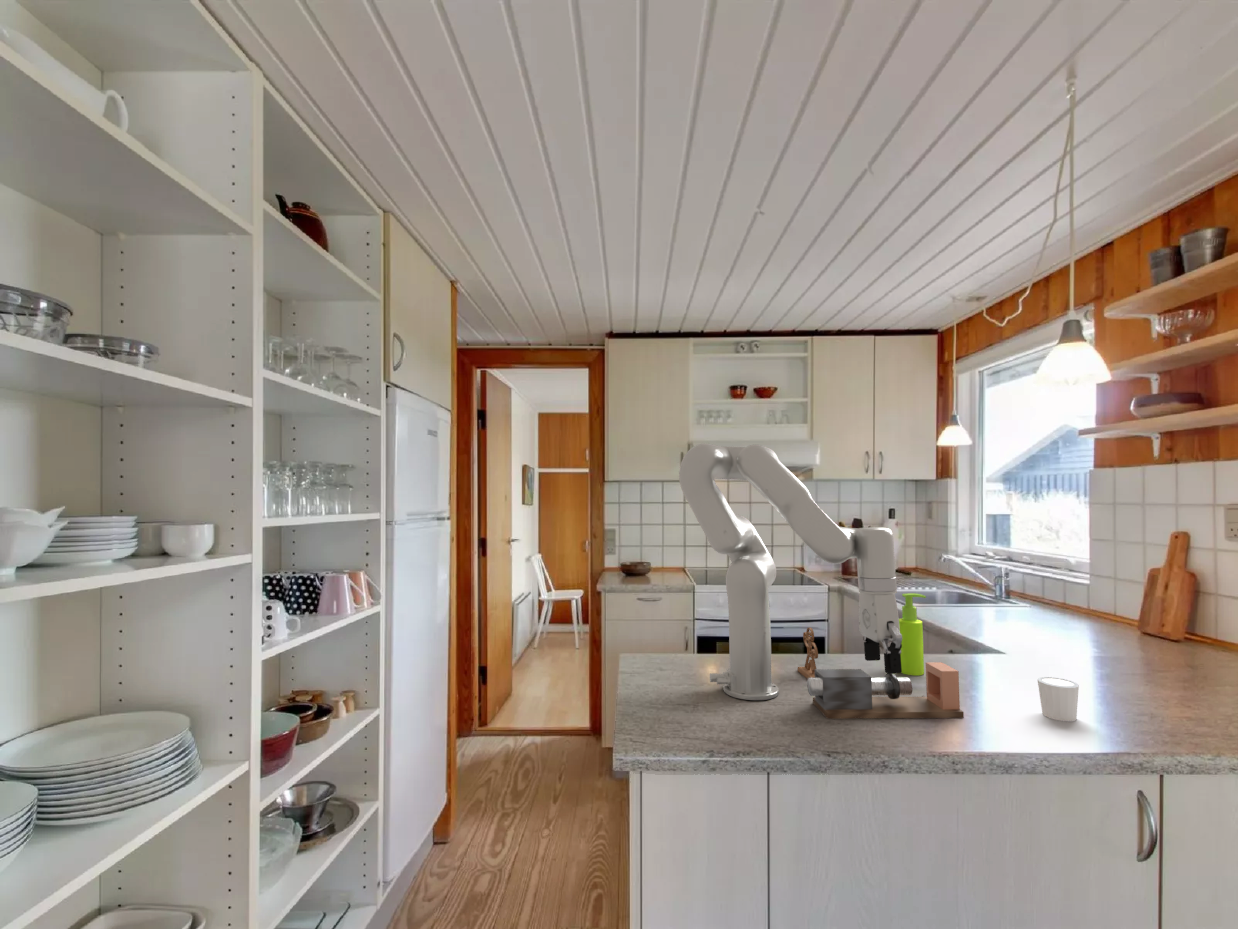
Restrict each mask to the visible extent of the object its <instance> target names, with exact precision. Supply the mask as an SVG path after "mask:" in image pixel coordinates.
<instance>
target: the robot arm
mask: <svg viewBox="0 0 1238 929" xmlns="http://www.w3.org/2000/svg"><path fill="white" fill-rule="evenodd" d="M778 457H779V456H778V455H777V453H776V452H775V451H774V450H773V449H771V448H770V447H767V446H765V445H762V444H749V445H747V446H723V445H717V444H714V443H709V442H708V443H707V442H702V443H698V444H696V445H694V446H692V447H691V448H690V449H689V450H687V452H686V454H684V456H683V458H682V460H681V462H680V465H679V471H678V480H679V485H680V488H681V491H682V494H683V496H684V498H685V499H686V501H687V503H688V505H689V508H691V510H692V512H693V514H694V517H695V518H696V520H697V522H698V525H699V526H700V528H701V529H702V532H703V534H704V535H705V537H706V539H707V541H708V542H709V545H710V546H711V548H712V549H713V550H714V551H715V552H716V553H718V554H721V555H727V556H728V558H729V559H730V561H731V563H730V565H729V566H728V568H727V570H726V574H725V586H726V595H727V596H726V597H727V605H728V609H727V610H728V633H729V637H728V638H729V640H728V642H729V643H728V644H729V668H728V667H727V668H726V671H723V672H722V673H717V672H716V673H709V682H710V683H716V684H717V685H723V686H722V688H723V692H724V693H725V694H726V695H727V696H728V695H729V696H730V697H732V698H736V699H741V700H744V701H745V700H747V701H766V700H771V699H774V698H776V697H777V696H778V695H779V693H780V692H779V687H778V685H776V684H775V683H772V680H773V679H772V677H773V676H772V639H771V638H772V633H771V628H772V627H771V608H770V598H769V588H770V587H771V586H772V585H773V584H774V582H775V580H776V577H777V565H776V563H775V562H774V559H773V557H772V555H771V554H770V553H769V550H768V549H767V547H766V545H765V543H764V542H763V539H762V538H761V536H760V535H759V533H758V532H757V530H756V527H755V526H754V525H753V524H752V523H751V521H750V520H749V519H748V518H746V517H745V516H743V515H741V514H737V513H734V510H733V509H732V508H731V506H730V504H729V502H728V500H727V499H726V497H725V495H724V493H723V492H722V490H721V489H720V488H719V487H718V485H717V482H716V481H715V480H716V479H718V480H734V481H735V480H736V481H737V480H739V481H747V482H748V483H749V484H751V485H752V487H753V488H754V489H755V490H756V491H758V493H759V494H760V495H762V497H763V498H764V499H765V500H766V501H767V502H768V503H769V504H770V505H771V506H772V507H773V508H774V509H775V510H776V511H777V513H778V514H779V515H780V517H781V518H782V519H783V520H784V521H785V522H786V523H787V525H789V527H790V529H792V530H793V532H795V534H796V535H797V536H798V537H799V539H801V540H802V541H803V543H804V544H806V546H808V548H809V549H811V551H812V552H813V553H815V554H816V556H818V557H819V558H820V559H821V560H822V561H824V562H826V563H828V564H831V565H838V564H839V565H840V564H842V563H845V562H847V560H849V559H856V566H857V567H856V568H857V583H858V592H859V595H858V596H859V597H858V627H859V628H858V629H859V633H860V634H861V635H862V640H863V648H864V649H863V650H864V660H865V661H867V662H869V661H870V662H871V661H880V660H881V649H880V648H881V647H880V642H881V643H882V646H883V648H884V651H885V652H883V662H884V663H883V664H884V672H885V674H902V673H901V672H902V669H901V648H902V644H901V643H902V635H901V633H900V627H899V619H900V618H899V612H898V604H897V598H896V594H897V593H898V590H897V589H898V587H897V574H896V559H895V547H894V534H893V532H892V530H891V529H890V528H887V527H884V526H883V527H882V526H877V527H876V526H875V527H873V526H871V527H861V528H856V527H846V526H845V527H844V526H838V525H837V524H836V523H835V522H834V521H833V520H832V518H830V516H828V515H827V514H826V513H825V512H824V511H823V509H821V508H820V506H818V504H817V503H816V501H815V500H814V499H813V497H812V495H811V493H810V491H809V488H807V486H806V485H805V483H803V482H802V481H801V480H800V479H799V478H798V477H797V476H796V475H795V474H794V473H793V472H792V471H790V470H789V468H787V467H786V466H785V464H783V463H782V461H780V459H779V458H778ZM889 644H890V645H889Z"/></svg>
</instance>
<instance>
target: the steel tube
mask: <svg viewBox="0 0 1238 929" xmlns="http://www.w3.org/2000/svg"><path fill="white" fill-rule="evenodd" d="M871 679H872V696H887V697H889V698H890V699H898V698H899V697H901V696H911V695H912V694H913V684H912V681H911V679H910V678H909V677H908V676H897V675H896V673H893V674H887V673H885V675H884V676H883V677H882V676H878V677H877V676H876V677H875V676H874V677H872V676H871ZM806 685H807V691H808V695H809V697H810V696H812V697H815V696H823V679H822V678H808V679H807V682H806Z"/></svg>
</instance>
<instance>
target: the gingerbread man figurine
mask: <svg viewBox="0 0 1238 929" xmlns="http://www.w3.org/2000/svg"><path fill="white" fill-rule="evenodd" d="M802 635H803V636H802V637H803V638H802V639H803V643H804V646H805V647H806V651H807V652H806V659H805V663H804V666H797V672H798V673H800V675H802V676H803V677H804V678H806V679H807V680H808V678H815V669H817V665H816V661H815V659H819V650H818V647H817V644H816V643H815V642H814V641H815V632H814V629H813V627H807V628H806V631H804V632H803V633H802ZM810 658H811V659H810Z"/></svg>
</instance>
